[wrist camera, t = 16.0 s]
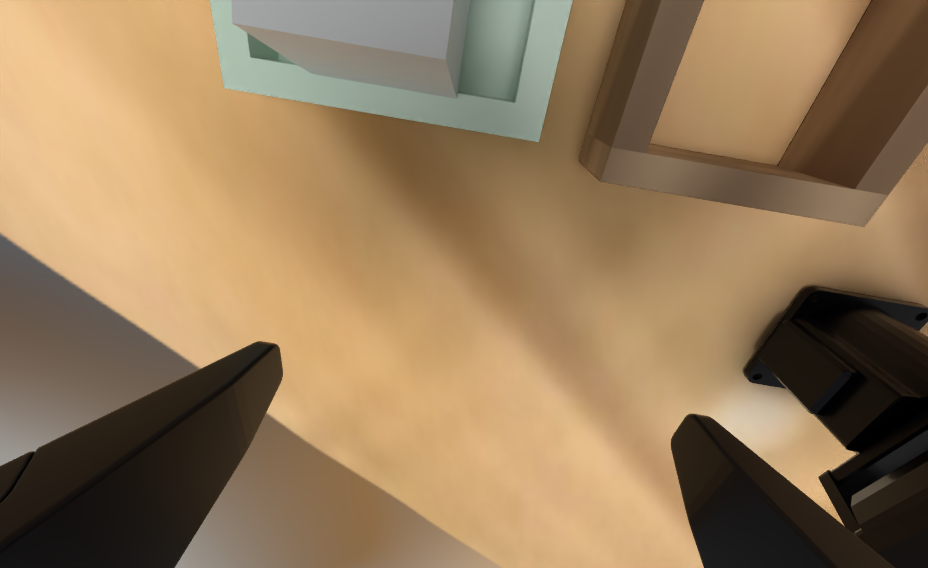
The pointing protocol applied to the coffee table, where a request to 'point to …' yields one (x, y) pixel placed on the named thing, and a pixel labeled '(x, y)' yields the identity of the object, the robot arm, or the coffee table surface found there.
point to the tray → (476, 108)
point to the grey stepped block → (365, 39)
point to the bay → (815, 144)
